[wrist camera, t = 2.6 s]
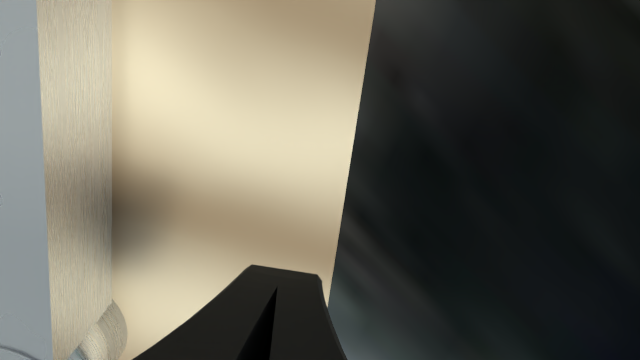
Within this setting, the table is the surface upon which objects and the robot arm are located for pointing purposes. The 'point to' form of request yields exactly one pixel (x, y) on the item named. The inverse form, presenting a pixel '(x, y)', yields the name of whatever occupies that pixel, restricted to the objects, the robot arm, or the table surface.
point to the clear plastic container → (57, 182)
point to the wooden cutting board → (227, 146)
